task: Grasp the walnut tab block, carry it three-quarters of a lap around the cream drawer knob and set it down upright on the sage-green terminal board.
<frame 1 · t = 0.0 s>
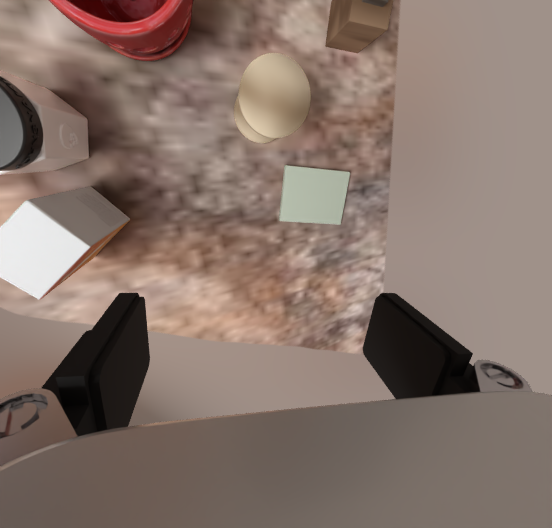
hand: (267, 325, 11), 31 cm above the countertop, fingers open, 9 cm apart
jar: (53, 131, 32), on the countertop
cream drawer knob: (260, 114, 36), on the countertop
small box: (93, 222, 37), on the countertop
plant pot: (142, 6, 30), on the countertop
tab block: (344, 28, 34), on the countertop
terminal board: (313, 196, 41), on the countertop
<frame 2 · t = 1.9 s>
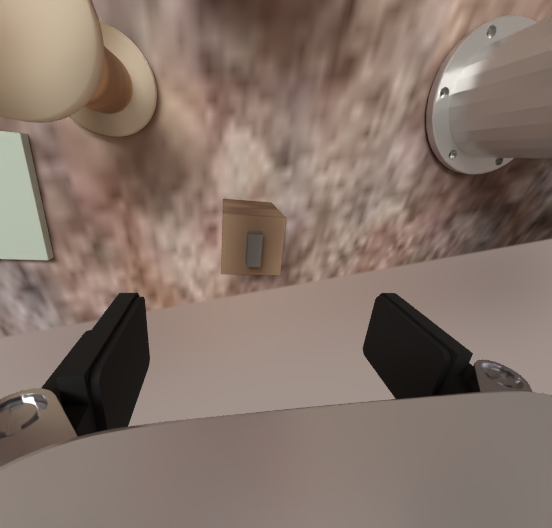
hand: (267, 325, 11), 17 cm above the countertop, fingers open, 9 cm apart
cream drawer knob: (107, 85, 20), on the countertop
tab block: (246, 224, 26), on the countertop
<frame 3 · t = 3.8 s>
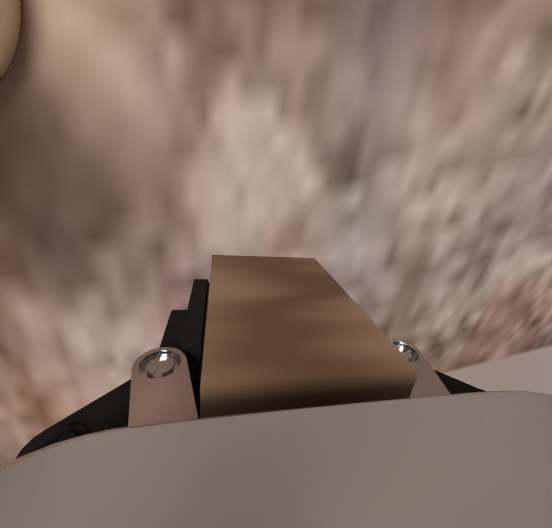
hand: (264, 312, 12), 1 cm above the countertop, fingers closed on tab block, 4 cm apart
tab block: (261, 302, 12), on the countertop, touching gripper
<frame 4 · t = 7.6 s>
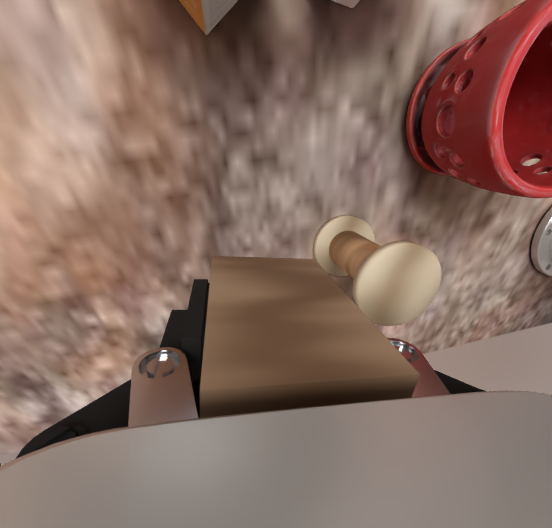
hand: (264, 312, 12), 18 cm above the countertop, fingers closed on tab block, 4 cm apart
cream drawer knob: (342, 245, 31), on the countertop
plant pot: (444, 119, 28), on the countertop
tab block: (261, 303, 12), point 17 cm above the countertop, touching gripper
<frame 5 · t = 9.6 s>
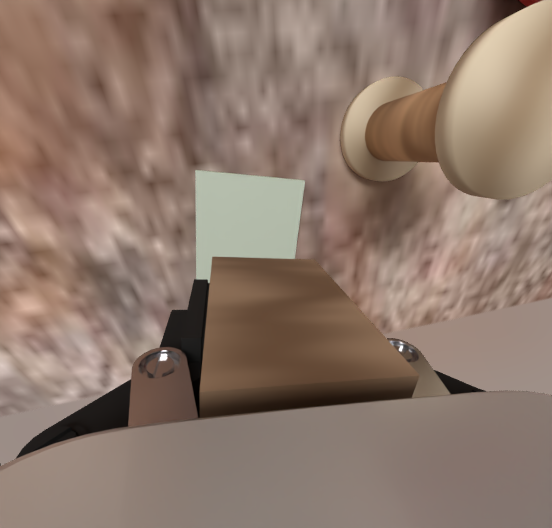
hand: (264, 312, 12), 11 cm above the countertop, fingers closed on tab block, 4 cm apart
cream drawer knob: (382, 133, 21), on the countertop
tab block: (261, 303, 12), point 10 cm above the countertop, touching gripper
terminal board: (247, 238, 22), on the countertop
when the fingers open (3 cm above the countertop, at t = 11.3 s): tab block drops 2 cm, resting on terminal board.
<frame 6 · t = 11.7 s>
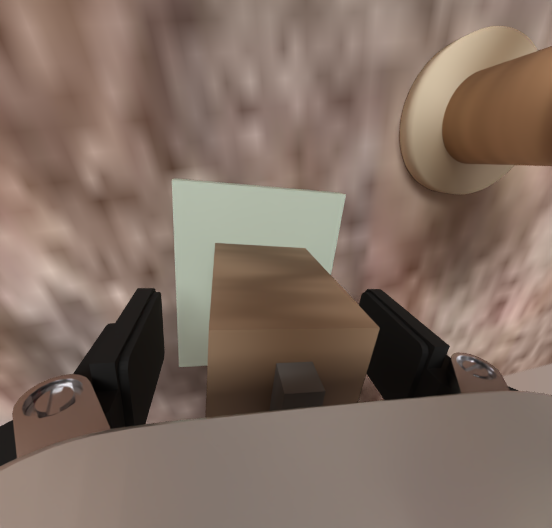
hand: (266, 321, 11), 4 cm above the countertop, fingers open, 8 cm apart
cream drawer knob: (462, 121, 14), on the countertop
tab block: (257, 286, 14), point 1 cm above the countertop, touching terminal board
terminal board: (255, 280, 15), on the countertop
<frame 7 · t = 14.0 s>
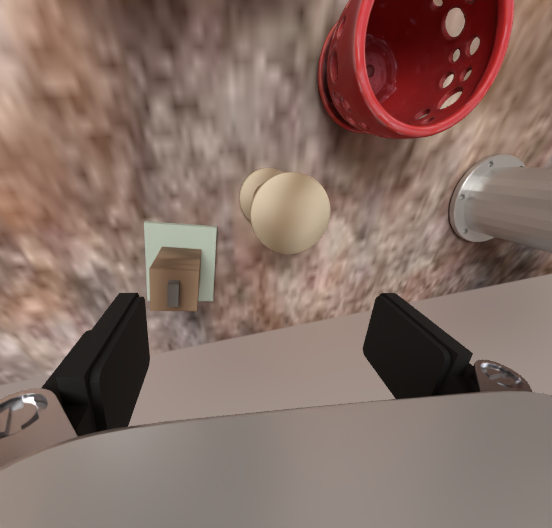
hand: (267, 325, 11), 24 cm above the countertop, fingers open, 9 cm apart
cream drawer knob: (267, 198, 33), on the countertop
plant pot: (358, 81, 30), on the countertop
tab block: (181, 265, 33), point 1 cm above the countertop, touching terminal board
terminal board: (182, 262, 33), on the countertop
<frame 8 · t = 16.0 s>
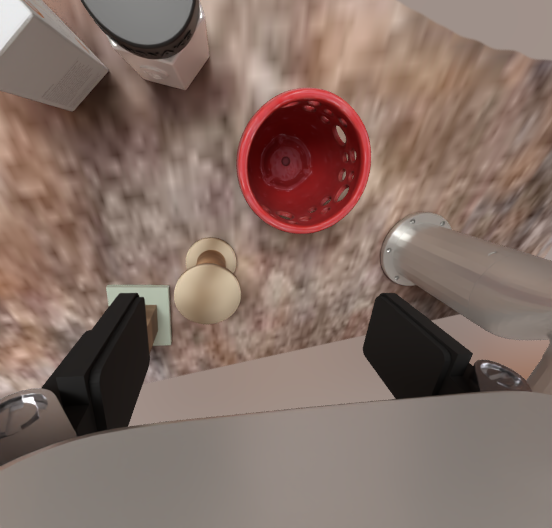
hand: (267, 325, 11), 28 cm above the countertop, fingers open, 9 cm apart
jar: (167, 44, 29), on the countertop
cream drawer knob: (211, 260, 39), on the countertop
small box: (57, 59, 28), on the countertop
plant pot: (281, 164, 36), on the countertop
tab block: (141, 318, 39), point 1 cm above the countertop, touching terminal board
terminal board: (142, 315, 40), on the countertop
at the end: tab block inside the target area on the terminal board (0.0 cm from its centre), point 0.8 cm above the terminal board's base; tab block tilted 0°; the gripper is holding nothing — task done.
